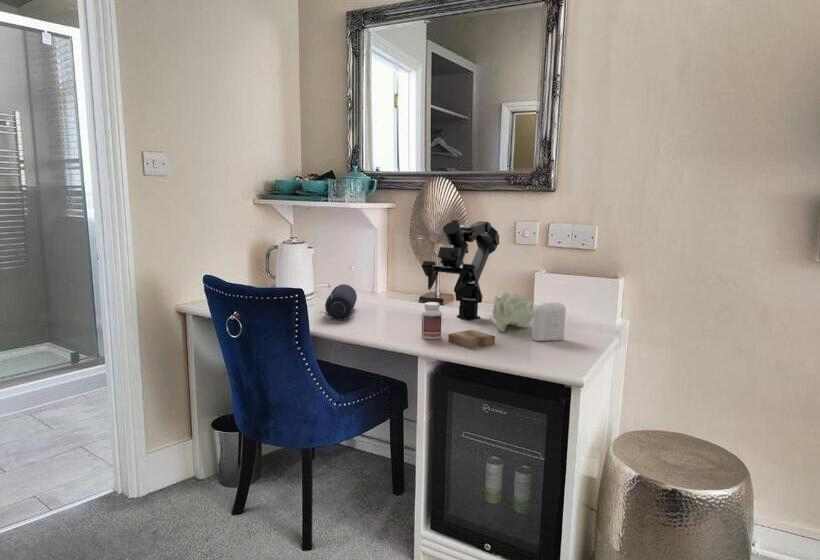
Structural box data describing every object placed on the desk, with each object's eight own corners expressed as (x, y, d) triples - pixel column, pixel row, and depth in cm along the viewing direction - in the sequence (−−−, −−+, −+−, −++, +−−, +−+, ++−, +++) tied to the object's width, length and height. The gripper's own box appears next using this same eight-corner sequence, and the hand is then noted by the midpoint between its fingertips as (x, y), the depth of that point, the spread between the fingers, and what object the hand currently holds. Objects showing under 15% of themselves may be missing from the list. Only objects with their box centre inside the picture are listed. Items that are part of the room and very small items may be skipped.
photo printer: (559, 337, 182) (561, 299, 180) (565, 340, 178) (568, 302, 176) (529, 338, 179) (531, 300, 177) (535, 342, 175) (537, 303, 173)
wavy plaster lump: (507, 342, 200) (511, 301, 205) (538, 340, 190) (541, 297, 195) (475, 329, 188) (480, 285, 193) (507, 326, 179) (511, 280, 184)
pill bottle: (444, 338, 178) (445, 304, 176) (428, 341, 174) (429, 306, 172) (433, 334, 183) (434, 300, 181) (417, 336, 179) (418, 302, 178)
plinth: (471, 337, 180) (471, 328, 179) (494, 344, 172) (494, 335, 172) (448, 341, 174) (448, 333, 173) (471, 349, 166) (471, 340, 165)
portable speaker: (332, 307, 222) (332, 282, 220) (357, 307, 222) (357, 282, 220) (323, 322, 197) (323, 293, 195) (352, 322, 197) (352, 294, 196)
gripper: (424, 236, 190) (408, 272, 182) (476, 239, 182) (462, 277, 173) (433, 258, 198) (418, 293, 190) (483, 262, 190) (470, 298, 181)
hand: (441, 290), depth 184 cm, fingers open, 9 cm apart
